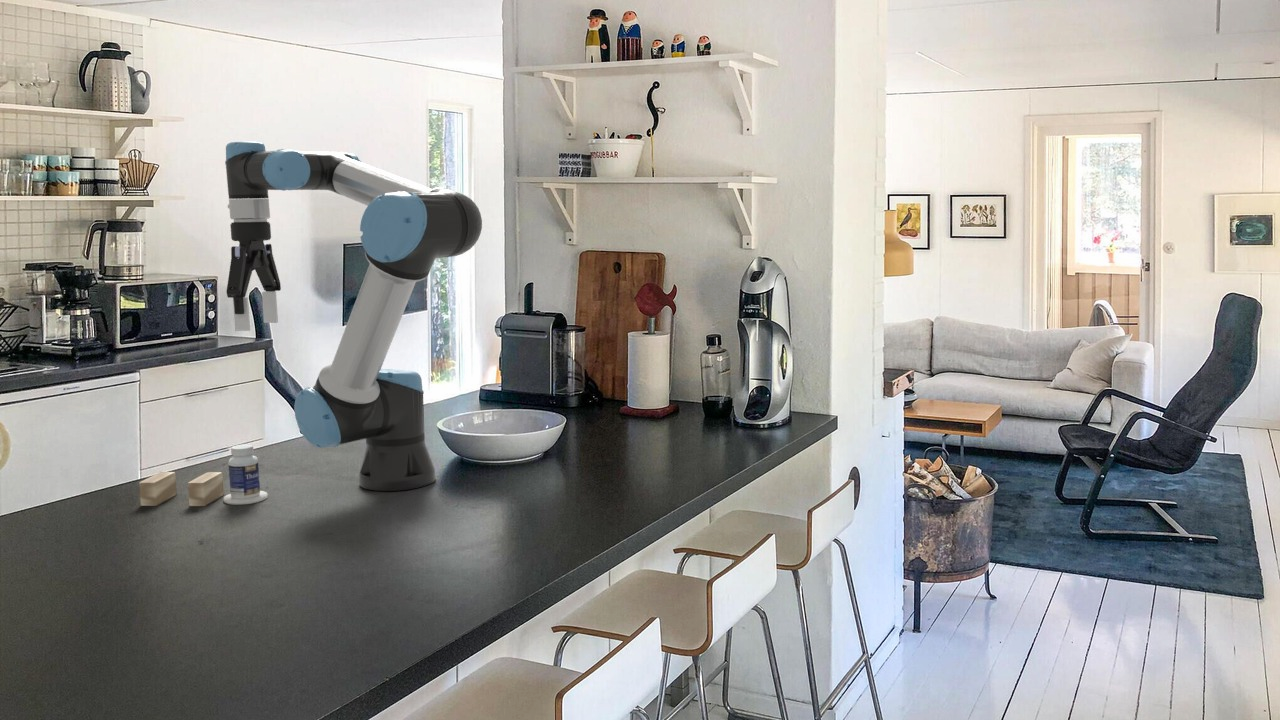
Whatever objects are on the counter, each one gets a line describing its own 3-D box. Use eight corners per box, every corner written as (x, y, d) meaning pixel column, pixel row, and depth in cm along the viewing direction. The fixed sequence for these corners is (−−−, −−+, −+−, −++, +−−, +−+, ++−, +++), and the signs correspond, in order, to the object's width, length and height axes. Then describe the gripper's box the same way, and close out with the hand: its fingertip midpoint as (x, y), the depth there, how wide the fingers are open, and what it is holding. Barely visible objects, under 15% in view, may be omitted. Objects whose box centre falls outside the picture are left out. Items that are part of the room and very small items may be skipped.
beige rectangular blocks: (223, 494, 211) (222, 472, 210) (204, 506, 203) (203, 482, 202) (162, 494, 212) (160, 472, 211) (140, 505, 204) (138, 482, 203)
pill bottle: (250, 500, 204) (246, 450, 203) (225, 499, 205) (221, 449, 204) (266, 492, 209) (262, 443, 208) (241, 491, 211) (237, 442, 209)
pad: (274, 493, 211) (274, 490, 211) (257, 504, 203) (257, 501, 203) (234, 493, 212) (234, 490, 212) (216, 504, 204) (216, 501, 204)
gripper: (258, 219, 227) (264, 319, 230) (202, 222, 202) (210, 334, 206) (292, 219, 227) (298, 319, 230) (241, 221, 202) (249, 334, 205)
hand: (257, 326), depth 218 cm, fingers open, 13 cm apart
